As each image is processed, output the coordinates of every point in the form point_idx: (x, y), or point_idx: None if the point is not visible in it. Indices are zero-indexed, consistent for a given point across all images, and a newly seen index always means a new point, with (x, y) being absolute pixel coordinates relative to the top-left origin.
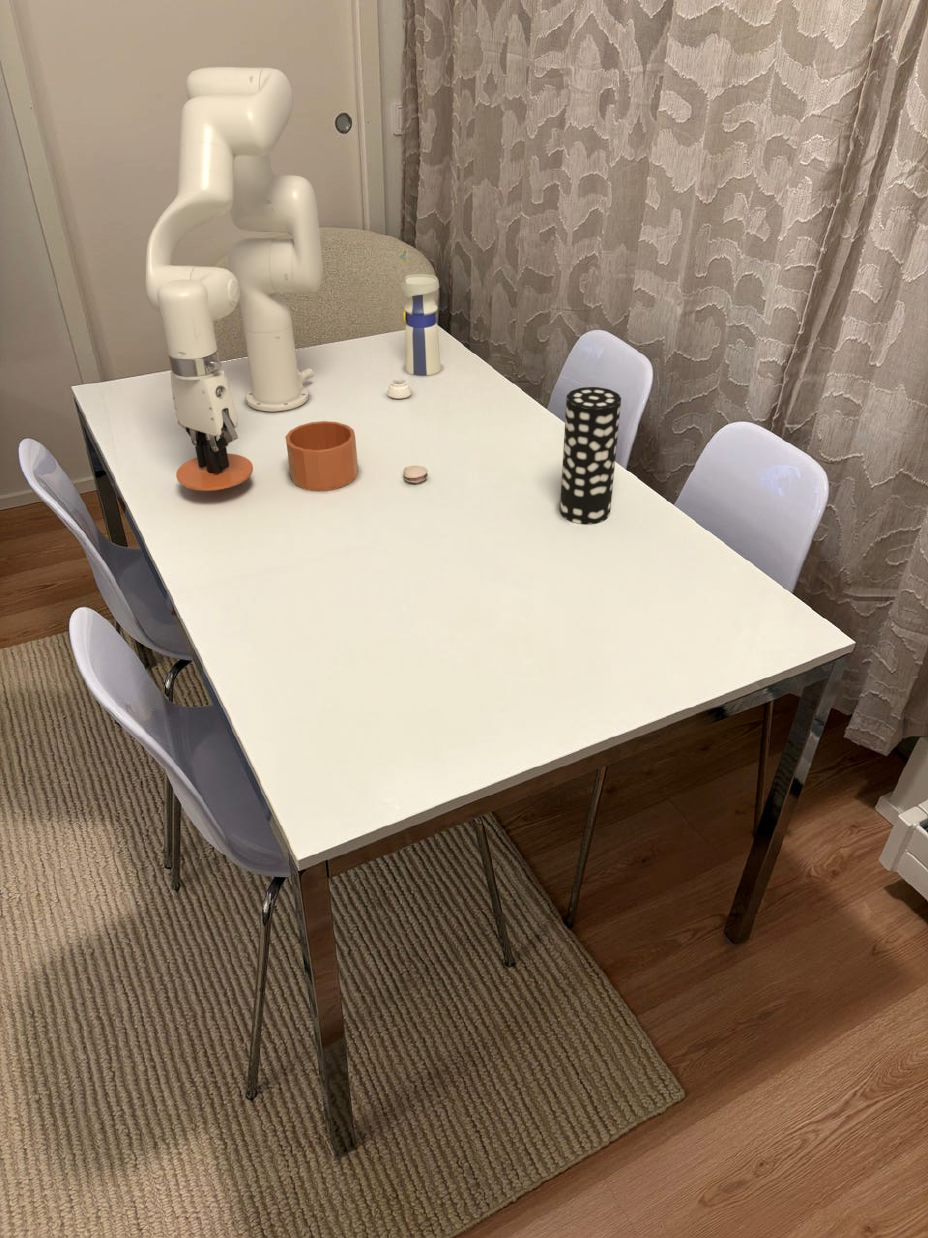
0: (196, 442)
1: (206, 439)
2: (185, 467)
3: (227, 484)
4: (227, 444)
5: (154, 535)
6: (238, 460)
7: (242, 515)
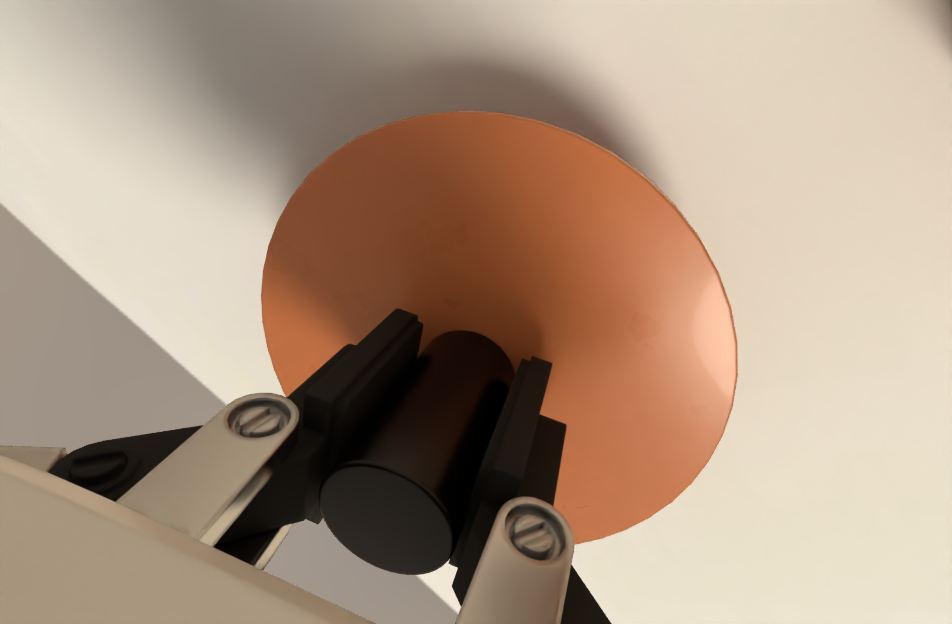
0: (284, 533)
1: (311, 465)
2: (302, 369)
3: (634, 515)
4: (591, 600)
5: (455, 596)
6: (556, 211)
7: (724, 491)
